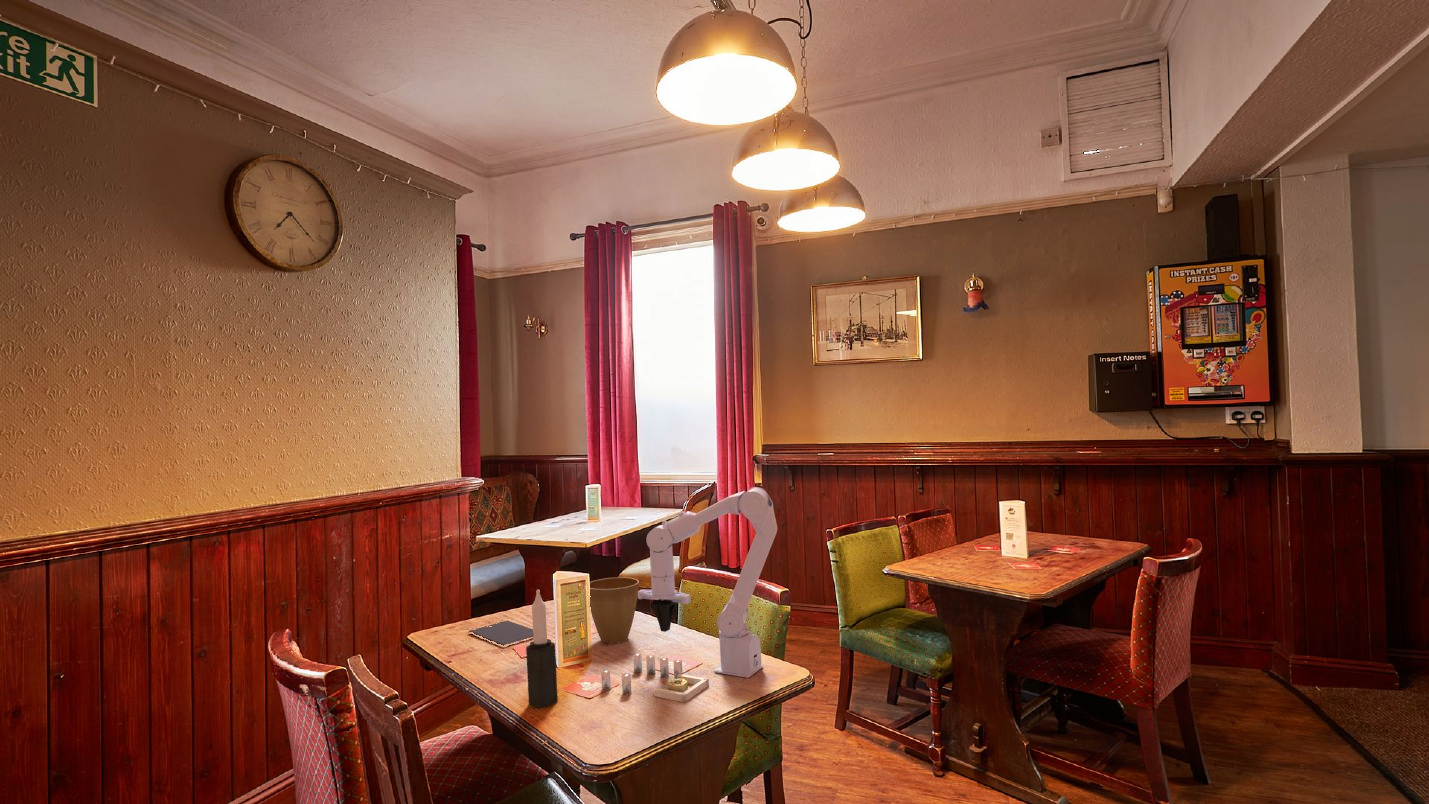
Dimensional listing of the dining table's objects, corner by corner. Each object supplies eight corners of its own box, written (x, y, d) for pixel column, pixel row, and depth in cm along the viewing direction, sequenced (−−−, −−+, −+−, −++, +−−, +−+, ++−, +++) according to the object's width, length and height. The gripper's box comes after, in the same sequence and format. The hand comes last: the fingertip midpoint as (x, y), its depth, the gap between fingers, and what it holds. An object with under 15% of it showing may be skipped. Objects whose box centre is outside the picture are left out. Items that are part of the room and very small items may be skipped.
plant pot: (638, 647, 188) (635, 587, 188) (583, 649, 188) (580, 590, 188) (644, 630, 203) (641, 575, 203) (593, 632, 203) (591, 577, 203)
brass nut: (690, 688, 158) (690, 679, 158) (679, 696, 154) (679, 686, 154) (676, 686, 160) (675, 676, 160) (664, 693, 156) (664, 684, 156)
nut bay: (708, 685, 158) (708, 678, 158) (684, 702, 150) (684, 695, 150) (679, 680, 163) (679, 673, 163) (654, 696, 154) (654, 689, 154)
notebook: (468, 635, 208) (503, 650, 193) (468, 630, 208) (503, 644, 193) (507, 625, 217) (543, 638, 202) (507, 620, 217) (543, 632, 202)
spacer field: (684, 677, 164) (683, 660, 164) (649, 699, 152) (648, 681, 152) (637, 668, 171) (636, 652, 172) (600, 689, 159) (599, 672, 160)
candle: (543, 709, 150) (537, 593, 151) (526, 705, 153) (521, 591, 153) (560, 700, 154) (554, 588, 155) (543, 696, 157) (538, 586, 158)
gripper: (629, 576, 171) (632, 631, 171) (677, 581, 164) (680, 638, 163) (646, 570, 177) (649, 623, 177) (693, 574, 170) (696, 630, 170)
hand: (665, 630), depth 171 cm, fingers closed
